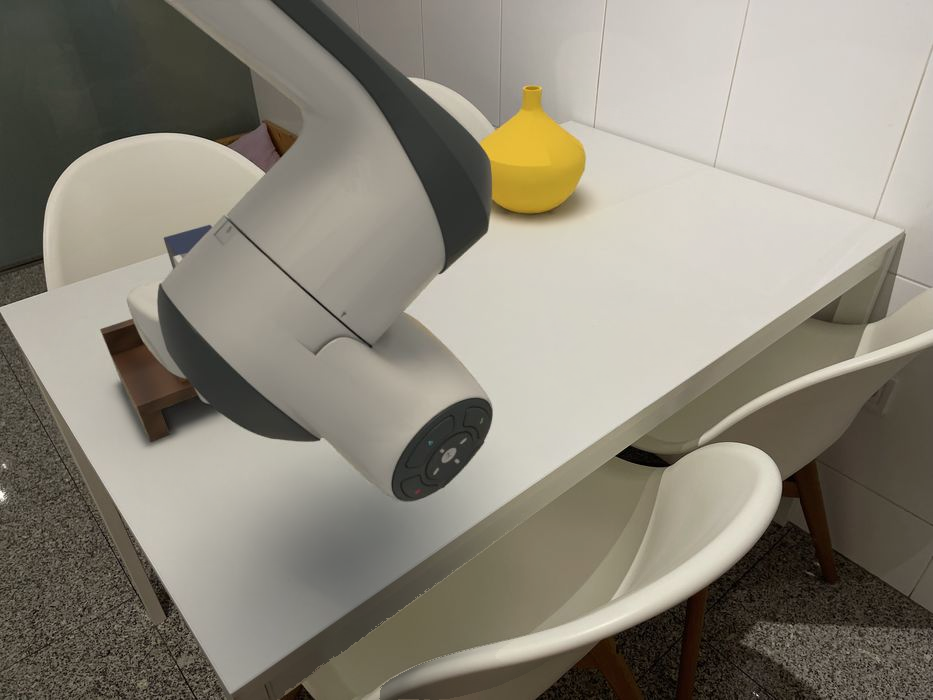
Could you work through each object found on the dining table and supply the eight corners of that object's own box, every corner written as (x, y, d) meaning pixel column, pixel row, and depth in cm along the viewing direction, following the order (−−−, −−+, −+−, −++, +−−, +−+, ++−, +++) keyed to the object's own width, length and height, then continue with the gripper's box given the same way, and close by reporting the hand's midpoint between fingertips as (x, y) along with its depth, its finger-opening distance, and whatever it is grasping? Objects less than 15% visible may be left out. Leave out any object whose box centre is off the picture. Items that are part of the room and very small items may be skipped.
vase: (453, 204, 120) (449, 91, 109) (520, 172, 131) (522, 66, 120) (538, 236, 110) (543, 114, 99) (602, 198, 121) (614, 85, 110)
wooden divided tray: (150, 442, 74) (127, 383, 69) (122, 384, 82) (99, 328, 77) (337, 365, 84) (327, 310, 79) (295, 321, 92) (285, 268, 87)
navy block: (208, 359, 77) (177, 255, 70) (194, 338, 81) (163, 237, 73) (251, 343, 80) (226, 241, 72) (236, 323, 83) (210, 224, 75)
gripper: (443, 235, 50) (352, 176, 59) (152, 334, 41) (98, 245, 50) (446, 309, 54) (360, 242, 63) (180, 415, 44) (125, 318, 54)
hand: (242, 244), depth 56 cm, fingers open, 8 cm apart
